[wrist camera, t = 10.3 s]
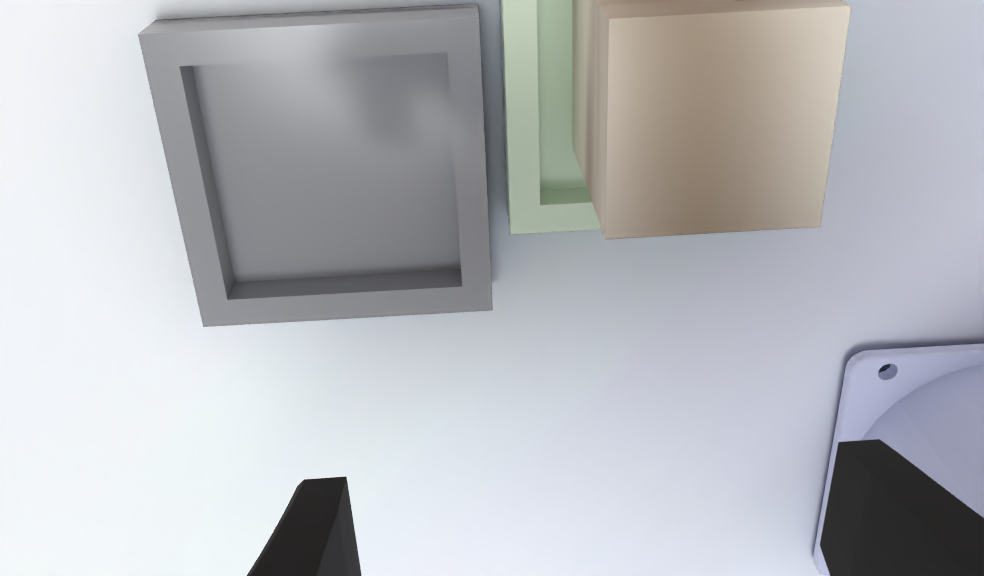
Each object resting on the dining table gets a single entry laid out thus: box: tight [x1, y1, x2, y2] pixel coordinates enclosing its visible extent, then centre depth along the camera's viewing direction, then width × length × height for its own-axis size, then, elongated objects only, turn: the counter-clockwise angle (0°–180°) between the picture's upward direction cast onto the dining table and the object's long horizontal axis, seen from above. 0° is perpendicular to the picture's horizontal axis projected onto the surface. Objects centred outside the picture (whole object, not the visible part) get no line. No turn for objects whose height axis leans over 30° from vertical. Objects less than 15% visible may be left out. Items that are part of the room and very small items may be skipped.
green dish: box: [500, 0, 602, 235], centre depth 20 cm, size 7×7×1 cm
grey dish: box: [138, 4, 493, 327], centre depth 21 cm, size 7×7×1 cm
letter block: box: [572, 0, 851, 239], centre depth 18 cm, size 4×4×5 cm
